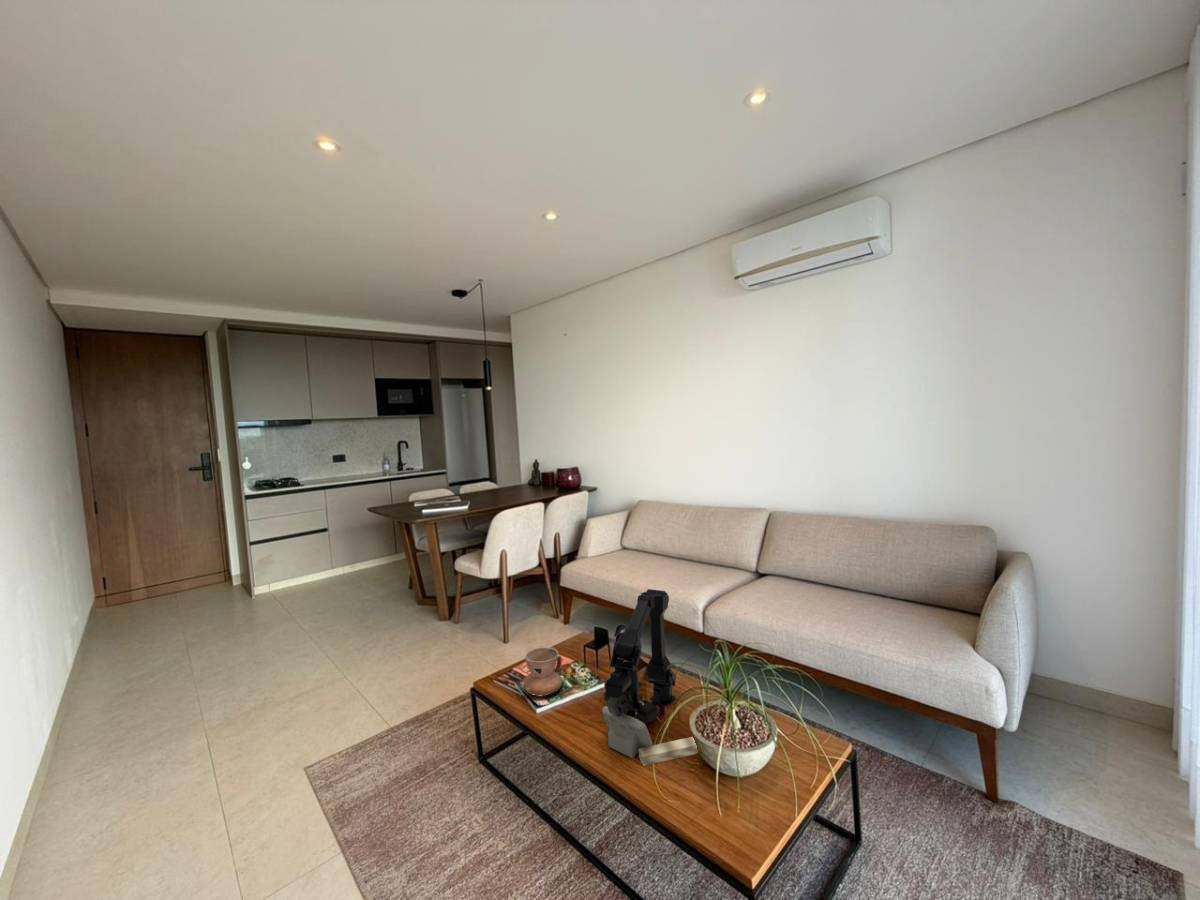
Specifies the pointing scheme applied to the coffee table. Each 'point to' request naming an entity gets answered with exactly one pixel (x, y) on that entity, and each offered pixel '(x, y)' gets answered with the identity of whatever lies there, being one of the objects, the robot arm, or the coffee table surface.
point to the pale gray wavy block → (667, 751)
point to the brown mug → (542, 671)
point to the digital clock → (626, 733)
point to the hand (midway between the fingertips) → (632, 729)
